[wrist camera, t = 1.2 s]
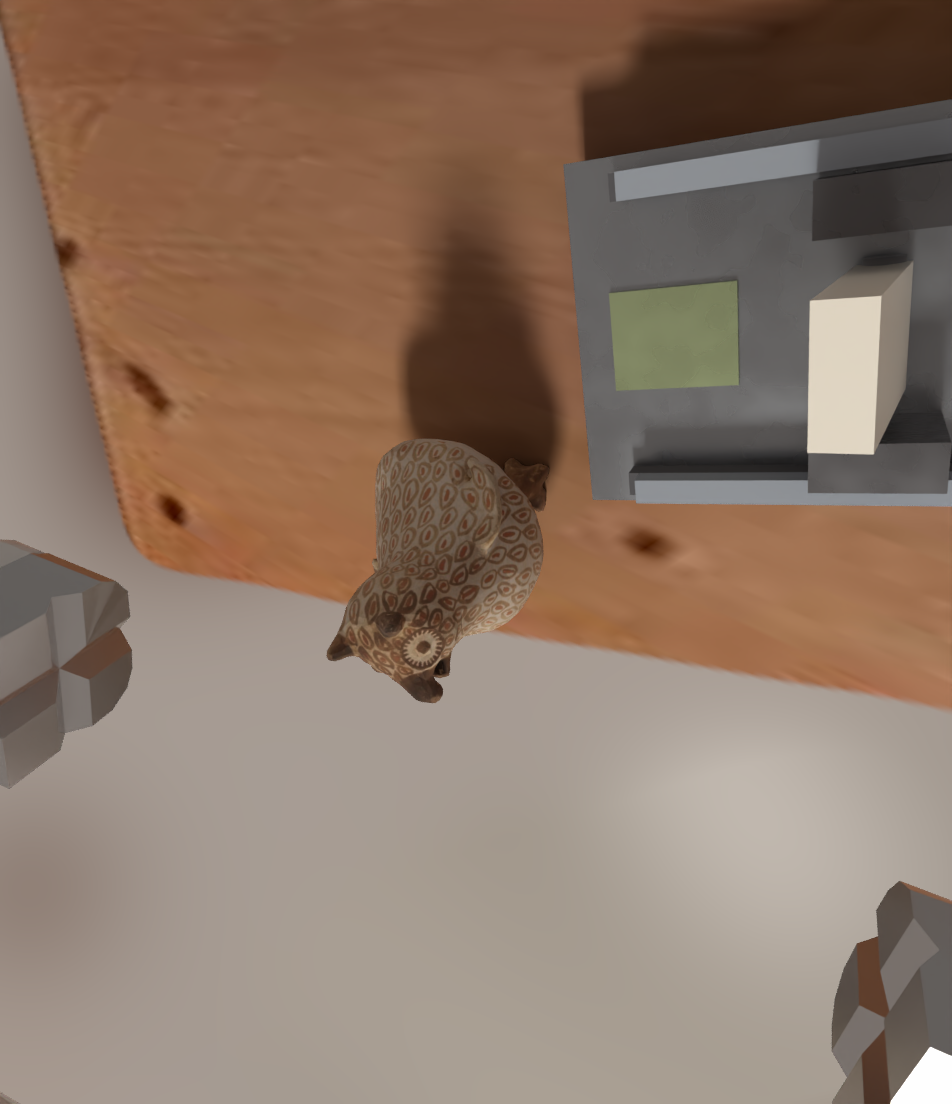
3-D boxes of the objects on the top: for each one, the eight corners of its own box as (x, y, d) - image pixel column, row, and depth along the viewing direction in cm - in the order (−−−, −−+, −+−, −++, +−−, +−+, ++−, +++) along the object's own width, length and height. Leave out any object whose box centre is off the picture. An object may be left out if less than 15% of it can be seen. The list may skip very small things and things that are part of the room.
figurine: (486, 606, 46) (347, 772, 34) (379, 469, 45) (195, 588, 33) (612, 526, 41) (503, 686, 29) (493, 370, 40) (328, 466, 28)
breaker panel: (1306, 44, 25) (1439, 9, 19) (1214, 476, 30) (1297, 551, 25) (584, 163, 35) (529, 165, 29) (609, 478, 40) (566, 532, 34)
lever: (916, 251, 28) (882, 288, 22) (907, 389, 30) (873, 460, 24) (859, 257, 29) (809, 293, 23) (854, 389, 31) (807, 459, 25)
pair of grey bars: (1256, 70, 24) (1285, 64, 22) (1175, 488, 29) (1194, 508, 27) (614, 173, 32) (600, 173, 30) (635, 487, 36) (624, 502, 35)
